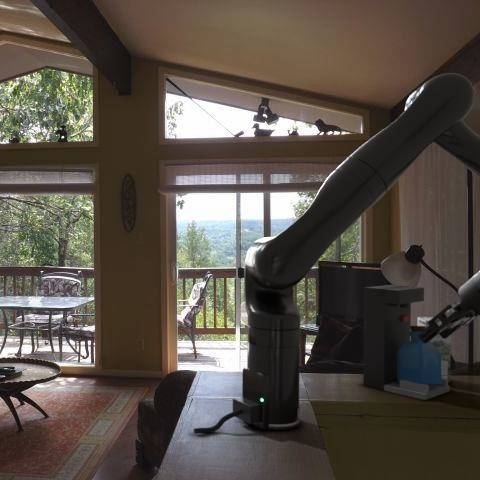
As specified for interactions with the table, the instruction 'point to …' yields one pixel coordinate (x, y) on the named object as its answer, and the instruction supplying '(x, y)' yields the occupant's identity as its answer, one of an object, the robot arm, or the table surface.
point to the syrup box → (440, 347)
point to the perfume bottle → (419, 360)
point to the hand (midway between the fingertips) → (431, 337)
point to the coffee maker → (391, 340)
